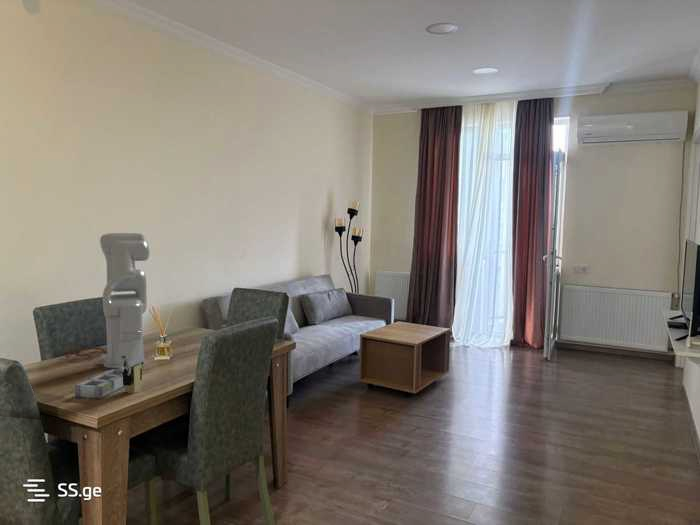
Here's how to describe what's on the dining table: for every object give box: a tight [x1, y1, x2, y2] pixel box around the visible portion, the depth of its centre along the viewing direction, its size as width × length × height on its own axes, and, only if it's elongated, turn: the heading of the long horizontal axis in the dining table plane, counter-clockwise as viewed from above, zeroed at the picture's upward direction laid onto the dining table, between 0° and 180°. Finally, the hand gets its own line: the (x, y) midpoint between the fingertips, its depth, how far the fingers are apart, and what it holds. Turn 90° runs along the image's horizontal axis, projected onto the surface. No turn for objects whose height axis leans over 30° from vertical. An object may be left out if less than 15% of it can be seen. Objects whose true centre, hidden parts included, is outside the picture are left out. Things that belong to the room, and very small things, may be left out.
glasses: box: [65, 343, 107, 359], centre depth 250 cm, size 13×13×5 cm
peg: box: [124, 364, 142, 394], centre depth 199 cm, size 4×4×10 cm
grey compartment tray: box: [74, 368, 125, 400], centre depth 201 cm, size 10×22×4 cm, turn 169°
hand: (132, 382), depth 199 cm, fingers open, 5 cm apart
